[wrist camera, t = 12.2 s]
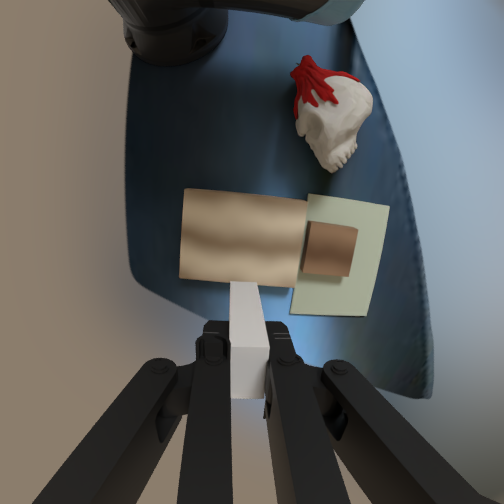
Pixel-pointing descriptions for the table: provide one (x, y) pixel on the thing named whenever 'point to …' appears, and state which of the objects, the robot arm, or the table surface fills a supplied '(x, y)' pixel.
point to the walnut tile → (328, 249)
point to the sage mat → (363, 264)
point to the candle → (329, 111)
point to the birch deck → (241, 237)
